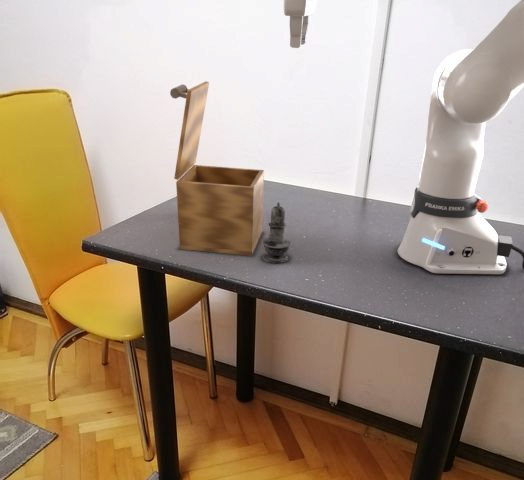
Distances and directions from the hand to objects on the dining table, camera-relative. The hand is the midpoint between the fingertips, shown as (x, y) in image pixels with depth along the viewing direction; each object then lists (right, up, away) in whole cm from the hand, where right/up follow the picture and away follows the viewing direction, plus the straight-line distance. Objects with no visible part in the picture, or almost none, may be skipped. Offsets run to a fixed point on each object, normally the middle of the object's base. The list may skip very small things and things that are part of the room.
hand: (298, 45), depth 95 cm
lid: (-20, -10, +12) cm, 26 cm away
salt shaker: (-4, -36, +17) cm, 39 cm away
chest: (-15, -30, +24) cm, 41 cm away
